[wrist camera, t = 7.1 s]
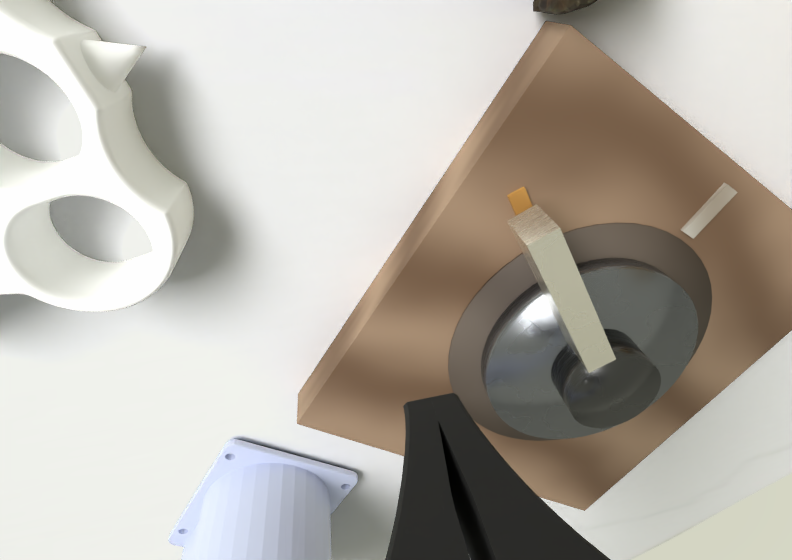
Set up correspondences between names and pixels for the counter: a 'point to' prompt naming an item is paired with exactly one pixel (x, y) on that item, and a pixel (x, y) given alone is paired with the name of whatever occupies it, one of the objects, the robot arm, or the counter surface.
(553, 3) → the brown rough bar
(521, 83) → the dial board
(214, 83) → the counter surface
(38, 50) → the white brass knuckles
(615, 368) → the dial
